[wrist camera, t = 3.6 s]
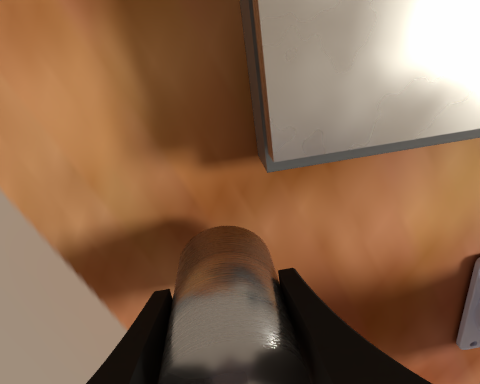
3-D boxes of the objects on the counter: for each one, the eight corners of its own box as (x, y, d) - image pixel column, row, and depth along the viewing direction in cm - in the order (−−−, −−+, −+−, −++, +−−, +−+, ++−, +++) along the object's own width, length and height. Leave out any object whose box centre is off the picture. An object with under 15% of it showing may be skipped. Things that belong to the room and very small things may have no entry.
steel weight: (265, 218, 13) (306, 329, 7) (275, 292, 14) (313, 427, 9) (169, 235, 13) (135, 360, 7) (190, 308, 14) (176, 453, 9)
